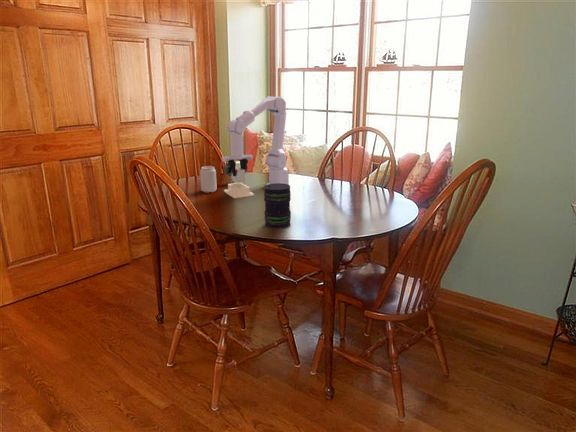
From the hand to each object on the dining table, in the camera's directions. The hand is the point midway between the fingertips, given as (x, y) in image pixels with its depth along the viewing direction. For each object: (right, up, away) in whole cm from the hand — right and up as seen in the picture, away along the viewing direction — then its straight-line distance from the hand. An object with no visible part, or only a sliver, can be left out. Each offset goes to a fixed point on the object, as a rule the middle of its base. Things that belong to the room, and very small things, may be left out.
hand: (238, 175), depth 223 cm
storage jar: (+20, -23, -44) cm, 53 cm away
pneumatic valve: (-3, -2, +25) cm, 25 cm away
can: (-15, -7, +8) cm, 19 cm away
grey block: (0, -2, +1) cm, 3 cm away
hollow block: (0, -8, +3) cm, 9 cm away
